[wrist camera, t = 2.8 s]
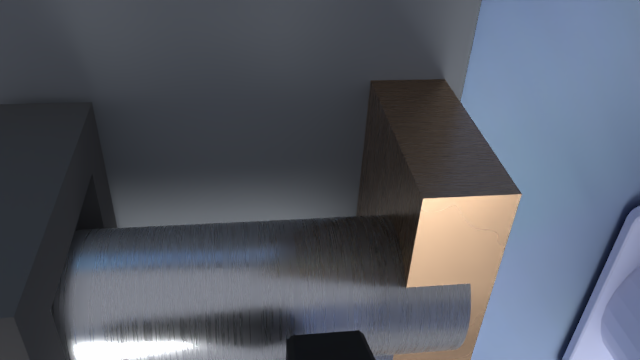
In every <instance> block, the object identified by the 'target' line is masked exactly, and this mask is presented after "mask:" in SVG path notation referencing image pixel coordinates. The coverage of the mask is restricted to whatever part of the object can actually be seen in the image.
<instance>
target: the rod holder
mask: <svg viewBox="0 0 640 360" xmlns="http://www.w3.org/2000/svg"><path fill="white" fill-rule="evenodd" d="M521 195H522V194H521V192H520V191H519V189H518V188H517V186H516V185H515V183H514V182H513V180H512V179H511V177H510V176H509V174H508V173H507V171H506V170H505V168H504V167H503V165H502V164H501V162H500V161H499V159H498V158H497V156H496V155H495V153H494V152H493V150H492V149H491V147H490V146H489V144H488V143H487V141H486V140H485V138H484V137H483V135H482V134H481V132H480V131H479V129H478V128H477V126H476V125H475V123H474V122H473V120H472V119H471V117H470V116H469V114H468V113H467V111H466V110H465V108H464V107H463V105H462V104H461V102H460V101H459V99H458V98H457V96H456V95H455V93H454V92H453V90H452V89H451V87H450V86H449V84H448V83H447V81H446V80H445V79H427V80H371V82H370V92H369V101H368V110H367V120H366V129H365V138H364V148H363V157H362V166H361V176H360V185H359V194H358V204H357V213H356V216H352V217H332V218H311V219H291V220H270V221H250V222H230V223H209V224H189V225H168V226H148V227H128V228H107V229H87V230H75V232H74V235H73V238H72V241H71V245H70V248H69V251H68V255H67V258H66V261H65V264H64V268H63V271H62V274H61V278H60V281H59V284H58V287H57V291H56V294H55V297H54V301H53V304H52V307H51V313H52V316H53V319H54V323H55V326H56V329H57V332H58V335H59V338H60V341H61V344H62V347H63V350H64V353H65V357H66V360H286V340H287V339H288V338H290V337H291V336H292V335H302V334H315V333H329V332H342V331H355V330H359V331H360V332H362V333H363V334H364V336H365V338H366V340H367V343H368V345H369V347H370V349H371V351H372V353H373V355H374V357H375V359H376V360H470V359H471V356H472V353H473V349H474V346H475V343H476V340H477V337H478V333H479V330H480V327H481V324H482V321H483V317H484V314H485V311H486V308H487V304H488V301H489V298H490V295H491V292H492V288H493V285H494V282H495V279H496V275H497V272H498V269H499V266H500V263H501V259H502V256H503V253H504V250H505V246H506V243H507V240H508V237H509V234H510V230H511V227H512V224H513V221H514V217H515V214H516V211H517V208H518V205H519V201H520V198H521Z"/></svg>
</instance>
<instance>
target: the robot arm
mask: <svg viewBox="0 0 640 360" xmlns="http://www.w3.org/2000/svg"><path fill="white" fill-rule="evenodd" d="M286 360H376V359H375V357H374V355H373V353H372V351H371V349H370V347H369V345H368V343H367V340H366V338H365V336H364V334H363V333H362V332H360V331H359V330H355V331H342V332H329V333H315V334H302V335H292V336H291V337H290V338H288V339H287V340H286ZM562 360H640V206H638V207H636V208H634V209H633V210H632V211H631V212H630V213H629V215H628V216H627V218H626V220H625V222H624V224H623V227H622V229H621V231H620V233H619V235H618V238H617V240H616V242H615V244H614V246H613V249H612V251H611V253H610V255H609V257H608V260H607V262H606V264H605V266H604V268H603V271H602V273H601V275H600V277H599V279H598V282H597V284H596V286H595V288H594V290H593V293H592V295H591V297H590V299H589V301H588V304H587V306H586V308H585V310H584V312H583V315H582V317H581V319H580V321H579V323H578V326H577V328H576V330H575V332H574V334H573V337H572V339H571V341H570V343H569V345H568V348H567V350H566V352H565V354H564V356H563V359H562Z"/></svg>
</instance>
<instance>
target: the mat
mask: <svg viewBox="0 0 640 360" xmlns="http://www.w3.org/2000/svg"><path fill="white" fill-rule="evenodd" d="M481 1H482V0H0V104H34V103H81V102H92V105H93V110H94V115H95V120H96V125H97V129H98V134H99V139H100V144H101V149H102V154H103V159H104V164H105V169H106V174H107V179H108V184H109V189H110V194H111V199H112V204H113V209H114V214H115V219H116V224H117V228H128V227H148V226H168V225H189V224H209V223H230V222H250V221H270V220H291V219H311V218H332V217H352V216H356V213H357V204H358V194H359V185H360V176H361V166H362V157H363V148H364V138H365V129H366V120H367V110H368V101H369V92H370V82H371V80H427V79H445V80H446V81H447V83H448V84H449V86H450V87H451V89H452V90H453V92H454V93H455V95H456V96H457V98H458V99H459V101H461V96H462V92H463V87H464V82H465V77H466V72H467V68H468V63H469V58H470V53H471V49H472V44H473V39H474V34H475V30H476V25H477V20H478V15H479V11H480V6H481Z"/></svg>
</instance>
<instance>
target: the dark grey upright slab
mask: <svg viewBox="0 0 640 360" xmlns="http://www.w3.org/2000/svg"><path fill="white" fill-rule="evenodd" d="M107 228H117V224H116V219H115V214H114V209H113V204H112V199H111V194H110V189H109V184H108V179H107V174H106V169H105V164H104V159H103V154H102V149H101V144H100V139H99V134H98V129H97V125H96V120H95V115H94V110H93V105H92V102H81V103H34V104H0V360H66V357H65V353H64V350H63V347H62V344H61V341H60V338H59V335H58V332H57V329H56V326H55V323H54V319H53V316H52V313H51V307H52V304H53V301H54V297H55V294H56V291H57V287H58V284H59V281H60V278H61V274H62V271H63V268H64V264H65V261H66V258H67V255H68V251H69V248H70V245H71V241H72V238H73V235H74V232H75V230H87V229H107Z"/></svg>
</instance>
